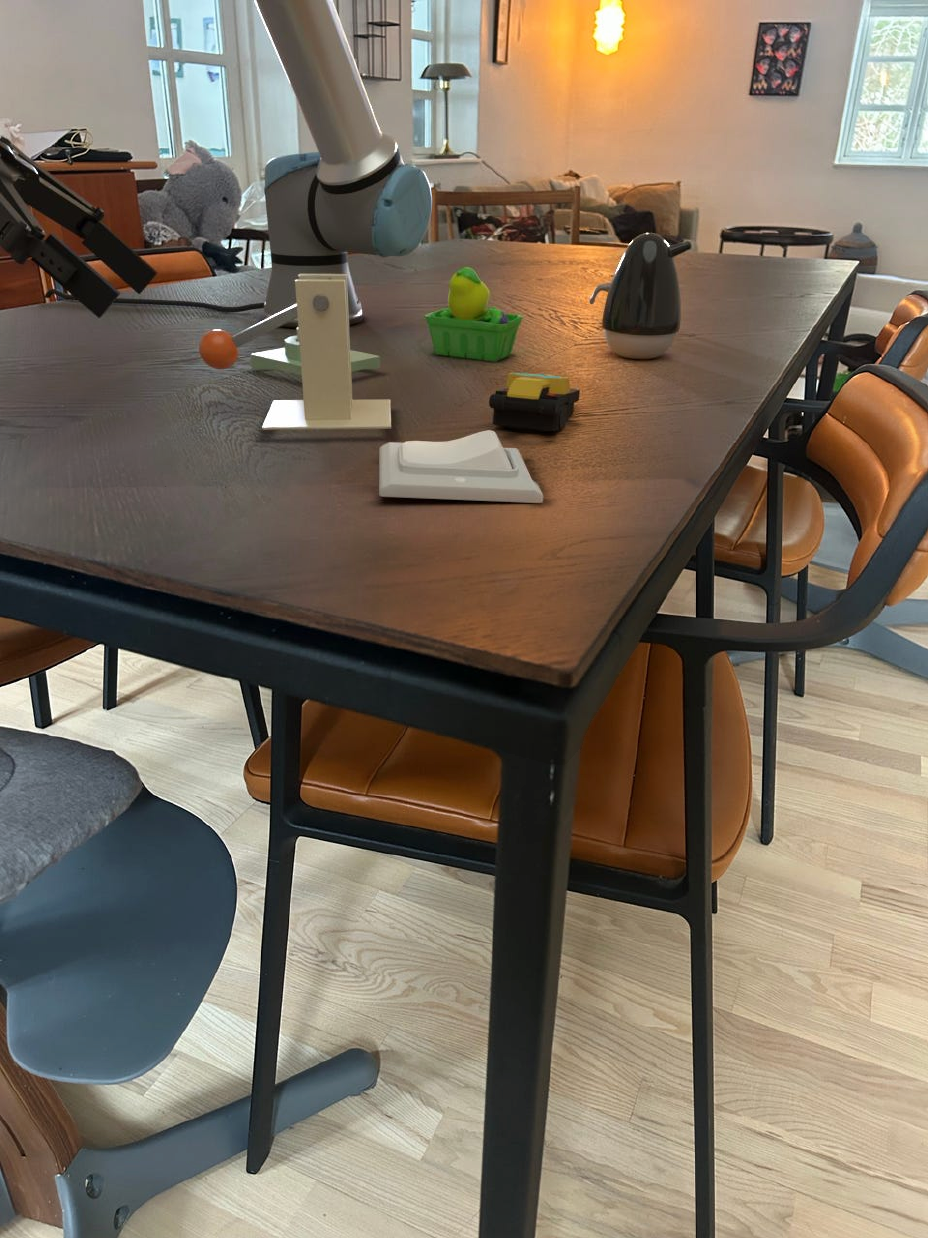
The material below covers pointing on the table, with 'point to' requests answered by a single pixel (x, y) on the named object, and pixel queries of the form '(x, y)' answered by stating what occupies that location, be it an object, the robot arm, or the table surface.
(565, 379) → the gadget
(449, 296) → the fruit basket
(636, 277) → the pump dispenser
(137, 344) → the table surface
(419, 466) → the light switch
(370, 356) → the button block
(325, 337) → the bracket
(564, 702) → the table surface
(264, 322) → the lever
